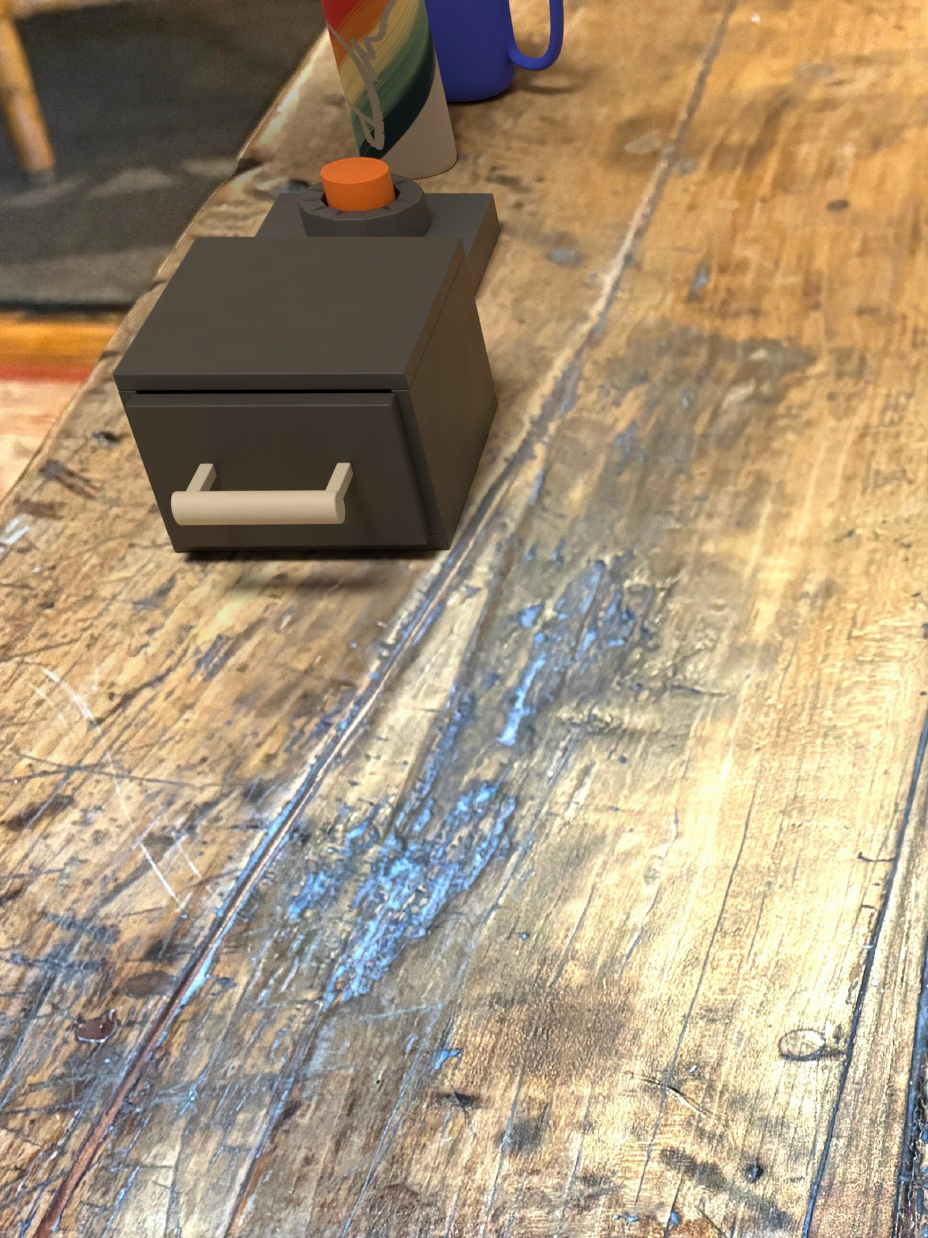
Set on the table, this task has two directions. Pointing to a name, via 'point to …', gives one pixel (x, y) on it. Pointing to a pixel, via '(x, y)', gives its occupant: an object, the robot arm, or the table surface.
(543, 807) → the table surface
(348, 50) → the lotion bottle
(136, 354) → the cabinet
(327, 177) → the button
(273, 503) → the drawer
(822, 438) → the table surface
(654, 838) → the table surface
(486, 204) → the button block
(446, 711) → the table surface
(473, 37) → the mug
